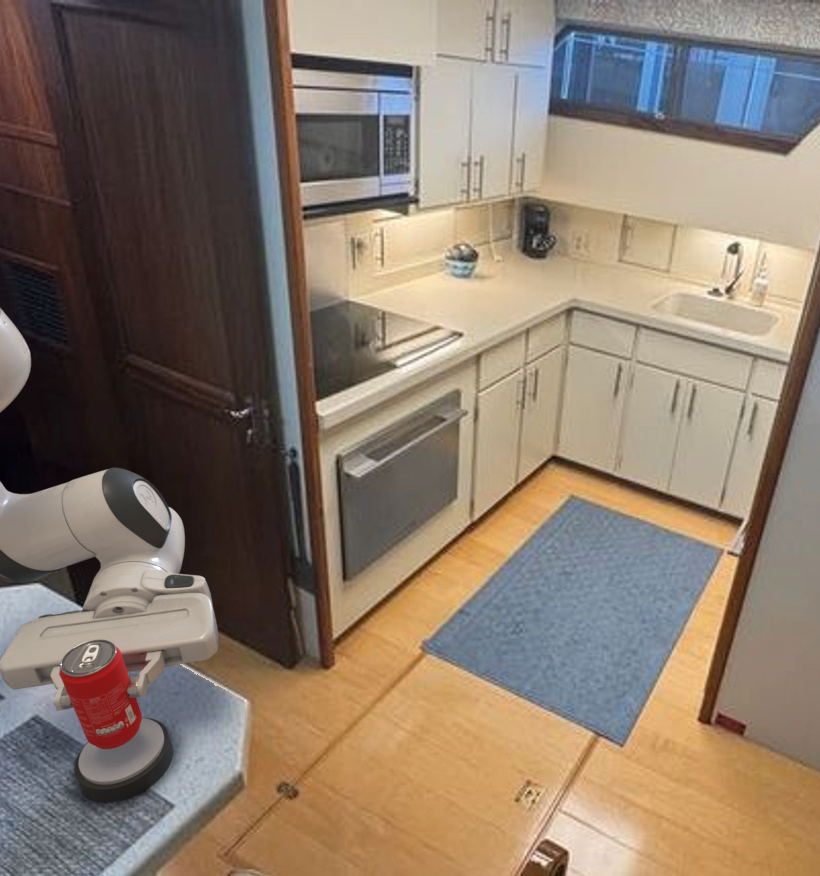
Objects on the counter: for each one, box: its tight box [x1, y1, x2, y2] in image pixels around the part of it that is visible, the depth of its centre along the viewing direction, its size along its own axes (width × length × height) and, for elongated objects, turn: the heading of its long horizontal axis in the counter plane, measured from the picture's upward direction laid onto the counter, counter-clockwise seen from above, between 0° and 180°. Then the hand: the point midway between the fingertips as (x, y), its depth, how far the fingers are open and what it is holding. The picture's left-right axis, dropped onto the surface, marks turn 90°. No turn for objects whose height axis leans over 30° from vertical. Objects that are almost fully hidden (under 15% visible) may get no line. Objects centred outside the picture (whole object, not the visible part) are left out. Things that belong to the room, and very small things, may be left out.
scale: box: [73, 716, 174, 803], centre depth 78 cm, size 9×9×3 cm
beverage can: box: [60, 640, 143, 750], centre depth 73 cm, size 5×5×12 cm
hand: (100, 699), depth 72 cm, fingers closed on beverage can, 5 cm apart
